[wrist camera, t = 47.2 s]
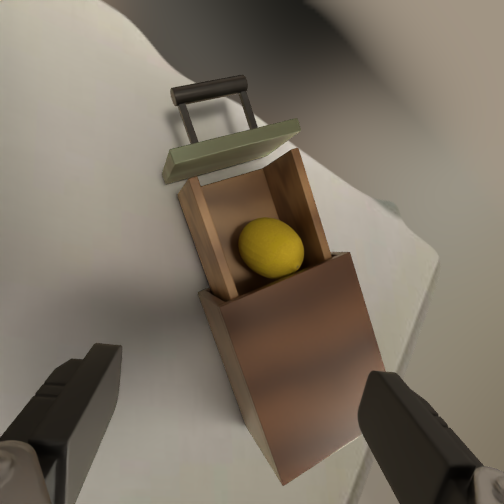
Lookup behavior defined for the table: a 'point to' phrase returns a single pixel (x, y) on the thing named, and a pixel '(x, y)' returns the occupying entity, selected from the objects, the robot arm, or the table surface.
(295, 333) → the cabinet
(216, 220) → the drawer
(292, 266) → the lemon
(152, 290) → the table surface
